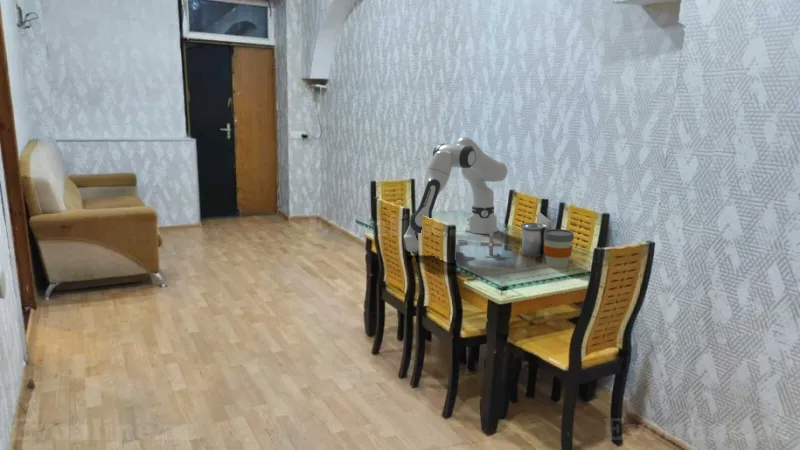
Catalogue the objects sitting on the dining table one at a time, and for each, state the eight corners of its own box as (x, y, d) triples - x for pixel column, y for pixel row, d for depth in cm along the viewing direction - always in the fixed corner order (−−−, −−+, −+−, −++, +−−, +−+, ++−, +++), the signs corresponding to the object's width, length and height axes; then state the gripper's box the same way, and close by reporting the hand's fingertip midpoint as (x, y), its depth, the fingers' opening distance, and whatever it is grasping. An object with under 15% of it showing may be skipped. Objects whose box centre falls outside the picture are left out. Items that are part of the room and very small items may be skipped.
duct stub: (515, 248, 271) (517, 212, 267) (538, 248, 271) (539, 212, 267) (524, 260, 252) (526, 221, 248) (549, 260, 252) (551, 221, 248)
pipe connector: (501, 258, 256) (502, 237, 254) (479, 257, 258) (480, 236, 256) (502, 252, 265) (502, 231, 263) (481, 251, 267) (481, 231, 265)
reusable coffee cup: (537, 262, 249) (538, 229, 245) (562, 260, 252) (564, 228, 248) (550, 270, 237) (552, 236, 233) (577, 268, 240) (579, 234, 236)
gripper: (439, 241, 249) (470, 241, 249) (436, 231, 269) (465, 231, 269) (439, 255, 250) (470, 255, 250) (436, 243, 270) (464, 243, 270)
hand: (467, 242), depth 260 cm, fingers closed
